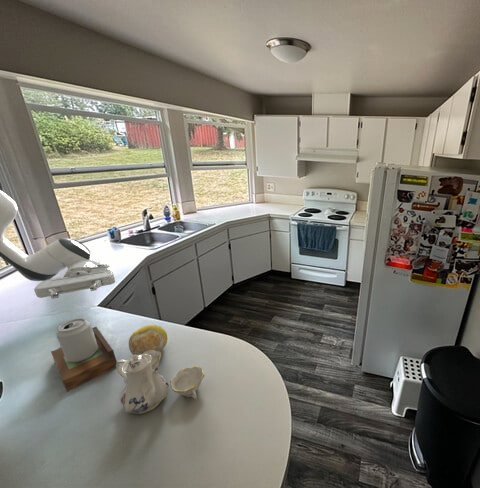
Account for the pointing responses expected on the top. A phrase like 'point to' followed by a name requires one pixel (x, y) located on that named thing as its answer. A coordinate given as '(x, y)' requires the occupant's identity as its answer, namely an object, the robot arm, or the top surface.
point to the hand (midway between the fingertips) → (74, 292)
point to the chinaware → (153, 382)
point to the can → (77, 340)
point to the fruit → (147, 339)
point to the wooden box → (85, 363)
